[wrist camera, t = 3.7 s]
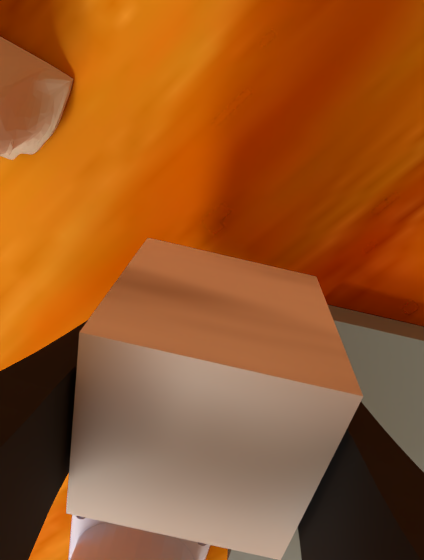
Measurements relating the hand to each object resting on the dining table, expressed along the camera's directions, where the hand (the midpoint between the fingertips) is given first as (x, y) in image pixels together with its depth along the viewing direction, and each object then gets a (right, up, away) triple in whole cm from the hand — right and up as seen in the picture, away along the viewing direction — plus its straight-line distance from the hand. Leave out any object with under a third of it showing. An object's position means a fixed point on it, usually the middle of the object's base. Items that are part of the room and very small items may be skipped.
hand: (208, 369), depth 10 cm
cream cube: (0, +1, +2) cm, 2 cm away
